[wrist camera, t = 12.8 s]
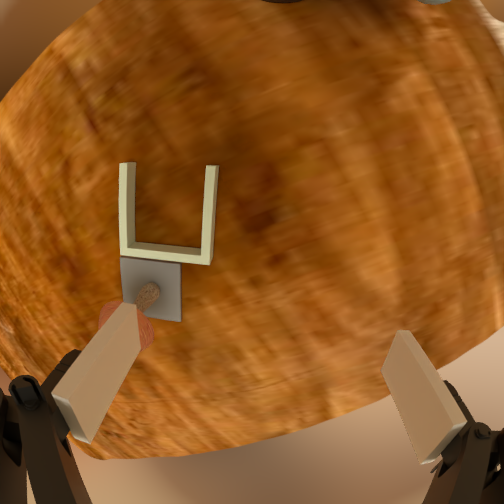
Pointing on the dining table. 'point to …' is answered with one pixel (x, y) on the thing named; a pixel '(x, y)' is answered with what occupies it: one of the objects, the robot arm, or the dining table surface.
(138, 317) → the mushroom
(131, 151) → the dining table surface
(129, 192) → the cream u-shaped piece
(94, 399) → the robot arm
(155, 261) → the coaster
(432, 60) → the dining table surface
